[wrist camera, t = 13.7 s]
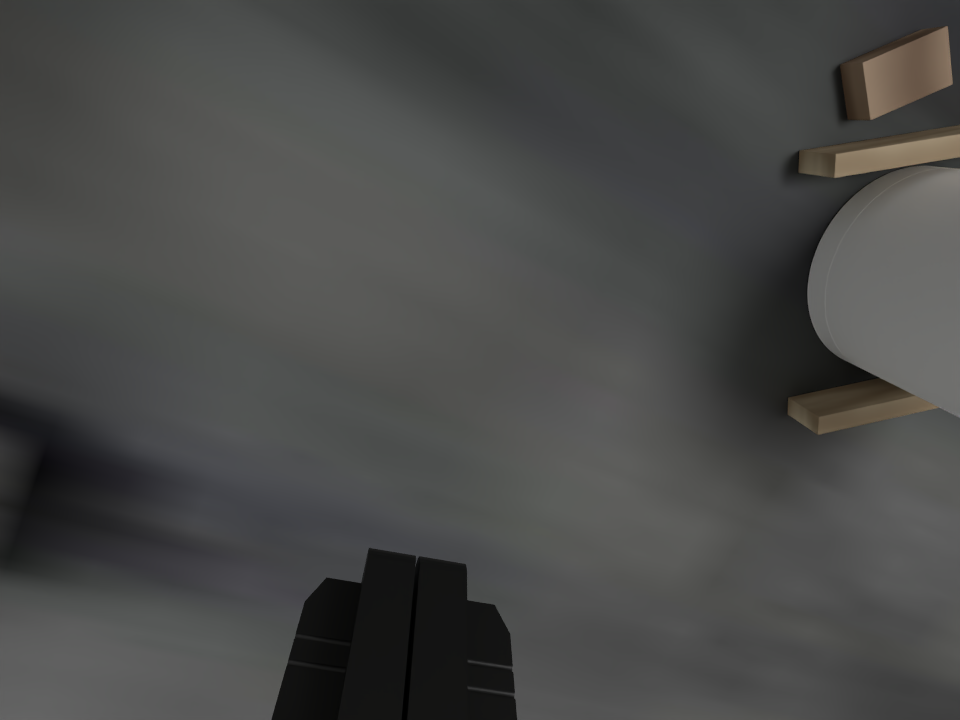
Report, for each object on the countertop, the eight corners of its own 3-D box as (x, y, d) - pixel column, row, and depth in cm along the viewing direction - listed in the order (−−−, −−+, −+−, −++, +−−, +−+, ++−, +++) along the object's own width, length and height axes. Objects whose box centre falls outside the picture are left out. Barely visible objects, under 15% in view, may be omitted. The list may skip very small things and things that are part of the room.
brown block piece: (844, 119, 38) (870, 120, 37) (836, 65, 37) (862, 63, 36) (923, 85, 39) (952, 84, 37) (917, 30, 38) (947, 26, 36)
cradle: (799, 150, 38) (863, 156, 34) (1067, 107, 41) (1161, 108, 36) (787, 414, 44) (840, 450, 40) (1021, 363, 47) (1096, 391, 42)
